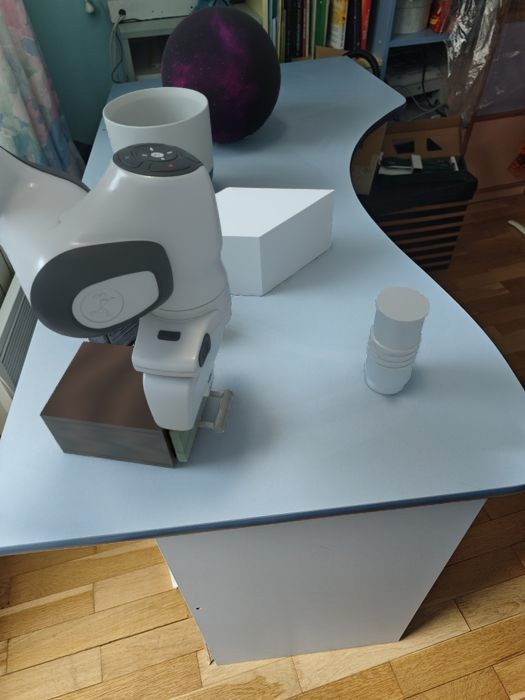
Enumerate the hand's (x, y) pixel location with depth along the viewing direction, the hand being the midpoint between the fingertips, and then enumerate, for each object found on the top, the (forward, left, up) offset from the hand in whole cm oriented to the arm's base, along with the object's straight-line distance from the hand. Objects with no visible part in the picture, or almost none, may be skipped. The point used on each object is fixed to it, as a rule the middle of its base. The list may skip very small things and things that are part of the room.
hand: (205, 387), depth 60 cm
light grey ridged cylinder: (+23, +13, -10) cm, 28 cm away
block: (-3, +37, -10) cm, 38 cm away
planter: (-24, +58, -10) cm, 63 cm away
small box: (-20, +17, -10) cm, 28 cm away
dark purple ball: (-20, +94, -10) cm, 97 cm away
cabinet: (-12, 0, -10) cm, 15 cm away
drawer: (-7, 0, -9) cm, 11 cm away
